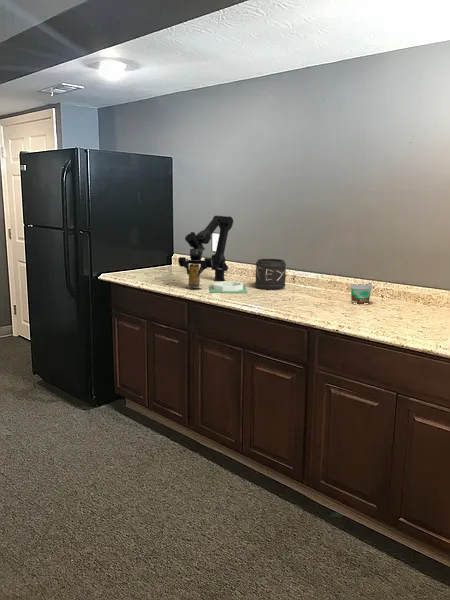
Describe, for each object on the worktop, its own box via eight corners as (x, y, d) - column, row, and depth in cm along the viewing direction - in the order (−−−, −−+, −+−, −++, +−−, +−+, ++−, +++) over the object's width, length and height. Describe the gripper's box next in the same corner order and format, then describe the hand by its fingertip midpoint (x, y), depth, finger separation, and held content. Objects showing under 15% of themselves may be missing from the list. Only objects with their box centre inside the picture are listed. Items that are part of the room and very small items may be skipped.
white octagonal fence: (213, 285, 295) (213, 281, 295) (241, 286, 296) (241, 281, 295) (213, 290, 280) (213, 286, 279) (243, 291, 280) (243, 286, 280)
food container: (357, 306, 250) (358, 285, 248) (348, 303, 255) (350, 283, 253) (376, 304, 255) (378, 284, 253) (368, 301, 261) (369, 282, 259)
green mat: (209, 285, 298) (209, 284, 298) (244, 286, 299) (244, 285, 299) (210, 292, 277) (210, 291, 277) (247, 293, 278) (247, 292, 277)
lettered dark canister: (249, 289, 290) (250, 261, 287) (259, 284, 306) (260, 257, 303) (280, 291, 283) (281, 263, 280) (289, 286, 300) (290, 259, 296)
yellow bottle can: (195, 284, 293) (195, 263, 291) (204, 286, 287) (204, 265, 285) (184, 285, 289) (185, 264, 286) (194, 288, 283) (194, 266, 280)
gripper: (178, 242, 288) (174, 265, 280) (211, 243, 286) (208, 266, 277) (181, 255, 297) (177, 277, 289) (214, 255, 295) (210, 278, 287)
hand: (193, 274), depth 285 cm, fingers closed on yellow bottle can, 6 cm apart
